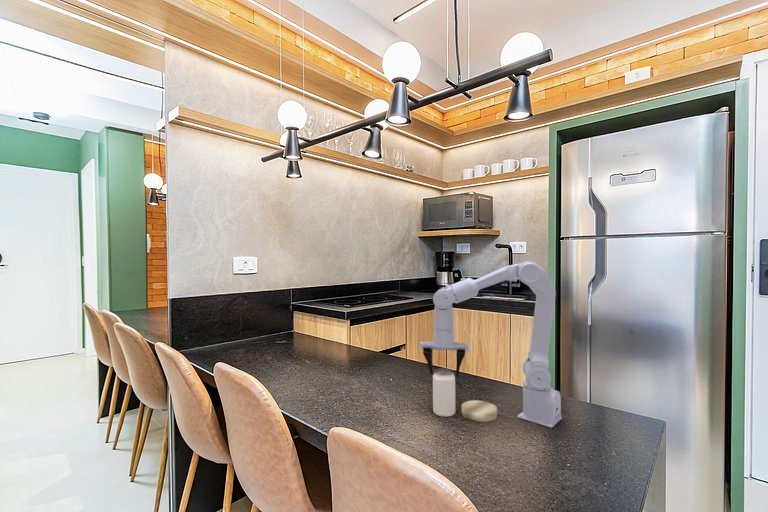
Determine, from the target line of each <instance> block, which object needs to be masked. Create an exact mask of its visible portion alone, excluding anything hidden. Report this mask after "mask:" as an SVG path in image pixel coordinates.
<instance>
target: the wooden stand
mask: <svg viewBox="0 0 768 512" xmlns="http://www.w3.org/2000/svg"><path fill="white" fill-rule="evenodd" d="M461 415H462V416H463V417H464V418H465V419H467V420H469V421H473V422H477V423H480V422H481V423H488V422H489V423H490V422H493V421H495V420H496V419H497V418H498V407H497V406H496V405H495V404H493V403H491V402H488V401H484V400H478V399H477V400H476V399H474V400H468V401H467V400H466V401H465V402H463V403H462V404H461Z"/></svg>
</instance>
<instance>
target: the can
mask: <svg viewBox="0 0 768 512" xmlns="http://www.w3.org/2000/svg"><path fill="white" fill-rule="evenodd" d="M454 373H455V372H454V371H453V370H452V369H449V368H437V369H435V370H433V374H432V411H433V413H434V415H436V416H438V417H441V418H449V417H453V416H455V414H456V375H455V374H454Z"/></svg>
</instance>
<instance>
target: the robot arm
mask: <svg viewBox="0 0 768 512" xmlns="http://www.w3.org/2000/svg"><path fill="white" fill-rule="evenodd" d="M518 280H519V281H520V282H521V283H523V284H524V285H526V286H528V287H529V289H530V290H531V291H532V292H533V293H534V295H535V298H536V299H535V303H534V304H535V305H534V312H533V321H532V330H531V337H530V346H529V351H528V353H527V358H526V360H525V361H524V363H523V366H522V371H523V373H524V375H525V379H524V380H523V382H522V410H523V411H521V413H519V414H517V418H518V419H522V420H525V421H527V422H531V423H535V424H537V425H542V426H544V427H547V428H551V429H552V428H554V426H556V425H557V424H558V423H559V422H560V421H561V420H562V419H563V417H562V401H561V400H562V398H561V392H560V391H559V390H556V389H554V388H552V386H551V382H552V376H551V373H550V370H549V369H550V357H549V353H550V352H549V351H550V343H551V335H552V326H553V320H554V319H553V318H554V311H555V309H554V308H555V304H556V303H555V302H556V301H555V300H556V295H557V294H556V293H557V292H556V289H555V287H554V285H553V282H552V281H551V279H550V278H549V276H548V274H547V270H546V269H544V268H543V266H541V265H539V264H538V263H536V262H534V261H527V260H525V261H521V262H520V263H514V264H511V265H506V266H504V267H502V268H499V269H497V270H495V271H492V272H490V273H488V274H485V275H483V276H481V277H479V278H477V279H473V278H471V277H467V278H466V277H462V278H460V280H459V281H457V282H454V283H453V284H446V285H445V288H443V287H442V288H439V289H438V290H437V291H436V292H435V293H433V298H432V302H433V304H434V314H433V320H434V321H433V326H434V328H433V329H434V330H433V331H434V333H433V334H434V341H433V340H432V341H420V342H419V350H423V351H422V354H423V356H424V358H425V360H426V363H427V366H428V370H429V374H430V375H434V365H433V350H440V351H441V350H442V351H456V353H455V355H456V357H455V358H456V367H455V368H456V370H455V377H456V376H457V377H458V376H459V375H460V369H461V368H460V367H461V365H462V362H463V360H464V358H465V356H466V352H467V353H468V352H469V351H470V344H469V343H464V342H458V341H457V342H456V341H455V340H454V313H453V309H454V308H453V304H459V303H462V302H464V301H466V300H469V299H471V298H475V297H477V296H478V293H479V291H480V290H482V289H485V288H488V287H491V286H494V285H496V284H498V283H502V282H505V281H508V282H518Z"/></svg>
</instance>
